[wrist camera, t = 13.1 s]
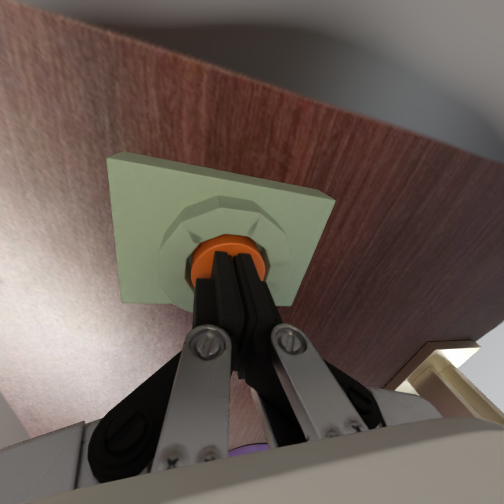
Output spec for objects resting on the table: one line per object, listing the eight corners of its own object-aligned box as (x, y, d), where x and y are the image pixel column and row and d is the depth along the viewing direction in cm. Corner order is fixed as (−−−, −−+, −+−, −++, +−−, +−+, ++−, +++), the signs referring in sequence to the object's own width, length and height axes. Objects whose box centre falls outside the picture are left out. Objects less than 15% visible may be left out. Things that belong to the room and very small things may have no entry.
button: (264, 230, 11) (273, 247, 10) (250, 283, 13) (256, 303, 12) (195, 222, 10) (194, 239, 9) (189, 280, 12) (188, 302, 11)
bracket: (427, 341, 28) (551, 463, 18) (472, 339, 30) (603, 445, 20) (380, 390, 33) (455, 503, 24) (422, 385, 36) (504, 485, 26)
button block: (318, 189, 13) (356, 212, 10) (281, 286, 17) (301, 326, 14) (122, 150, 10) (84, 164, 7) (131, 279, 14) (109, 329, 11)
